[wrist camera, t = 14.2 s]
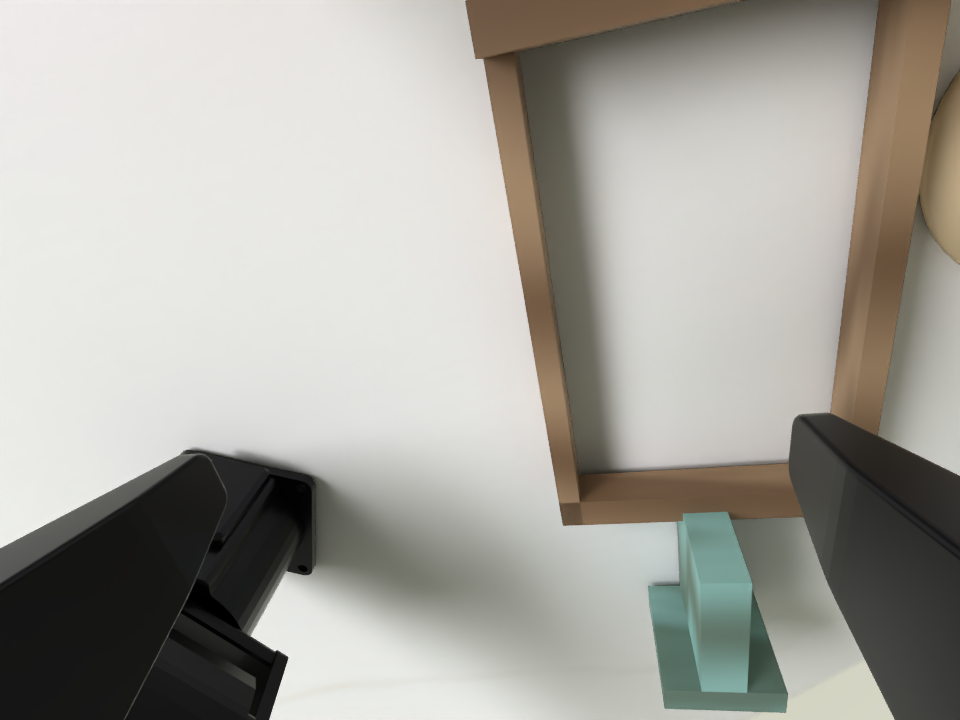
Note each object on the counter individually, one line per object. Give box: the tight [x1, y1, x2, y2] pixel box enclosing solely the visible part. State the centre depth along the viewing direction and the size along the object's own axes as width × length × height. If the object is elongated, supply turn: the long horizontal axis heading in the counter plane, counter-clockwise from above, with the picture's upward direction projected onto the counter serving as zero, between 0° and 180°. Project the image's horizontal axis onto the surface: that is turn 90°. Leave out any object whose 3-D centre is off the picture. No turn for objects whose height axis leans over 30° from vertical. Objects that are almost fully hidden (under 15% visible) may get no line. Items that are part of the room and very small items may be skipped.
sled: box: [465, 0, 951, 713], centre depth 18 cm, size 25×11×5 cm, turn 11°
